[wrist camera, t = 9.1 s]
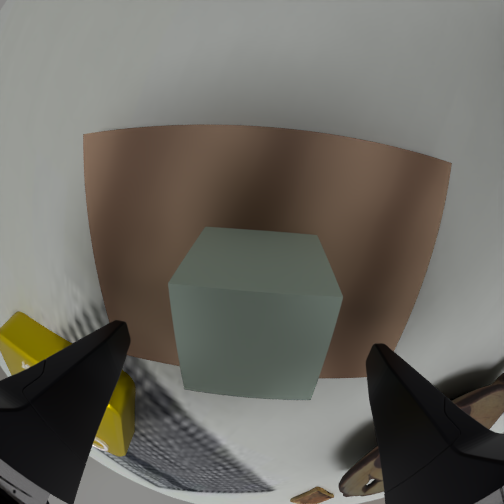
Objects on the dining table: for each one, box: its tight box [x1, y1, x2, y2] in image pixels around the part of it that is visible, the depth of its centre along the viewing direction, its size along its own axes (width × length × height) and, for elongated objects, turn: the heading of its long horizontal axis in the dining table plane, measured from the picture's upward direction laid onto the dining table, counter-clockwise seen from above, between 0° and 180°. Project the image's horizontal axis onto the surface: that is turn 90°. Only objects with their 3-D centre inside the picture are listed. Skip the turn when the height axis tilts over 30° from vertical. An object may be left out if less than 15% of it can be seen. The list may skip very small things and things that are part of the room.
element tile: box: [0, 312, 135, 457], centre depth 20 cm, size 15×15×5 cm
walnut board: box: [83, 125, 452, 378], centre depth 14 cm, size 18×14×2 cm
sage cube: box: [168, 227, 343, 400], centre depth 11 cm, size 5×5×5 cm
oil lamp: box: [339, 373, 504, 497], centre depth 18 cm, size 22×30×8 cm
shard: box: [290, 487, 334, 504], centre depth 32 cm, size 11×8×2 cm
